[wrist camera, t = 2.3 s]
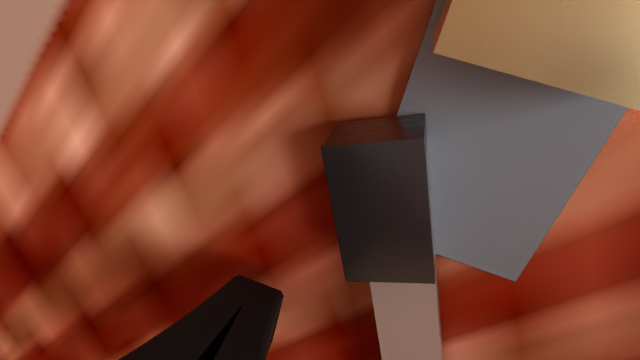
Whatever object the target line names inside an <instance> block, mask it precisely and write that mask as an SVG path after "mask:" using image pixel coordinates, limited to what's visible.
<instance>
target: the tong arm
mask: <svg viewBox="0 0 640 360" xmlns="http://www.w3.org/2000/svg"><path fill="white" fill-rule="evenodd" d="M321 152H322V157H323V163H324V168H325V173H326V178H327V184H328V189H329V194H330V200H331V205H332V210H333V216H334V221H335V226H336V231H337V237H338V242H339V247H340V253H341V258H342V263H343V268H344V274H345V279H346V281H349V282H370V288H371V295H372V301H373V307H374V313H375V320H376V326H377V332H378V338H379V345H380V351H381V357H382V360H444V359H443V345H442V331H441V318H440V304H439V291H438V277H437V263H436V250H435V236H434V223H433V209H432V196H431V182H430V168H429V155H428V141H427V128H426V114H425V113H421V114H412V115H402V116H393V117H384V118H375V119H366V120H356V121H347V122H339V124H338V125H337V126H336V128H335V129H334V130H333V132H332V133H331V134H330V136H329V137H328V138H327V140H326V141H325V142H324V144H323V145H322V146H321Z"/></svg>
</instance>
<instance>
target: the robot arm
mask: <svg viewBox="0 0 640 360" xmlns="http://www.w3.org/2000/svg"><path fill="white" fill-rule="evenodd" d="M283 296H284V295H283V294H282V292H281V291H280V290H277V289H275V288H272V287H269V286H267V285H264V284H262V283H259V282H256V281H254V280H251V279H249V278H246V277H243V276H241V275H238V276H235V277H234V278H233V279H231V280H230V281H229V282H228V283H227V284H226V285H224V286H223V287H222V288H221V289H219V290H218V291H217V292H216V293H215V294H213V295H212V296H211V297H209V298H208V299H207V300H206V301H204V302H203V303H202V304H200V305H199V306H198V307H196V308H195V309H194V310H192V311H191V312H190V313H188V314H187V315H185V316H184V317H183V318H181V319H180V320H178V321H177V322H176V323H174V324H173V325H171V326H170V327H169V328H167V329H166V330H164V331H163V332H161V333H160V334H158V335H157V336H155V337H153V338H152V339H150V340H149V341H147V342H146V343H144V344H143V345H141V346H140V347H138V348H137V349H135V350H133V351H132V352H130V353H129V354H127V355H125V356H124V357H122V358H120V359H119V360H265V358H266V356H267V353H268V350H269V348H270V345H271V343H272V340H273V336H274V332H275V328H276V324H277V320H278V316H279V312H280V308H281V304H282V300H283Z"/></svg>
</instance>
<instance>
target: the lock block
mask: <svg viewBox="0 0 640 360" xmlns="http://www.w3.org/2000/svg"><path fill="white" fill-rule="evenodd" d="M433 53H436V54H439V55H443V56H446V57H450V58H454V59H457V60H461V61H464V62H468V63H471V64H475V65H479V66H482V67H486V68H489V69H493V70H496V71H500V72H504V73H507V74H511V75H514V76H518V77H521V78H525V79H529V80H532V81H536V82H539V83H543V84H546V85H550V86H554V87H557V88H561V89H564V90H568V91H571V92H575V93H579V94H582V95H586V96H589V97H593V98H596V99H600V100H604V101H607V102H611V103H614V104H618V105H622V106H625V107H629V108H632V109H636V110H639V111H640V0H446V1H445V4H444V6H443V9H442V12H441V15H440V18H439V21H438V23H437V26H436V29H435V32H434V35H433Z"/></svg>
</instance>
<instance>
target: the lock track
mask: <svg viewBox="0 0 640 360" xmlns="http://www.w3.org/2000/svg"><path fill="white" fill-rule="evenodd" d="M445 1H446V0H436V2H435V5H434V8H433V11H432V13H431V16H430V19H429V22H428V25H427V28H426V31H425V34H424V37H423V40H422V43H421V46H420V48H419V51H418V54H417V57H416V60H415V63H414V66H413V69H412V72H411V75H410V78H409V81H408V84H407V86H406V89H405V92H404V95H403V98H402V101H401V104H400V107H399V110H398V113H397V116H402V115H412V114H421V113H425V114H426V128H427V141H428V155H429V168H430V182H431V196H432V209H433V223H434V236H435V250H436V254H438V255H441V256H443V257H446V258H449V259H452V260H455V261H458V262H461V263H463V264H466V265H469V266H472V267H475V268H478V269H481V270H483V271H486V272H489V273H492V274H495V275H498V276H501V277H503V278H506V279H509V280H512V281H515V282H516V280H517V279H518V277H519V276H520V274H521V273H522V271H523V269H524V268H525V266H526V265H527V263H528V262H529V260H530V259H531V257H532V256H533V254H534V252H535V251H536V249H537V248H538V246H539V245H540V243H541V242H542V240H543V239H544V237H545V236H546V234H547V232H548V231H549V229H550V228H551V226H552V225H553V223H554V222H555V220H556V219H557V217H558V215H559V214H560V212H561V211H562V209H563V208H564V206H565V205H566V203H567V202H568V200H569V198H570V197H571V195H572V194H573V192H574V191H575V189H576V188H577V186H578V185H579V183H580V181H581V180H582V178H583V177H584V175H585V174H586V172H587V171H588V169H589V168H590V166H591V164H592V163H593V161H594V160H595V158H596V157H597V155H598V154H599V152H600V151H601V149H602V147H603V146H604V144H605V143H606V141H607V140H608V138H609V137H610V135H611V134H612V132H613V130H614V129H615V127H616V126H617V124H618V123H619V121H620V120H621V118H622V117H623V115H624V114H625V112H626V110H627V109H628V107H625V106H622V105H618V104H614V103H611V102H607V101H604V100H600V99H596V98H593V97H589V96H586V95H582V94H579V93H575V92H571V91H568V90H564V89H561V88H557V87H554V86H550V85H546V84H543V83H539V82H536V81H532V80H529V79H525V78H521V77H518V76H514V75H511V74H507V73H504V72H500V71H496V70H493V69H489V68H486V67H482V66H479V65H475V64H471V63H468V62H464V61H461V60H457V59H454V58H450V57H446V56H443V55H439V54H436V53H433V35H434V32H435V29H436V26H437V23H438V21H439V18H440V15H441V12H442V9H443V6H444V4H445Z"/></svg>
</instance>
